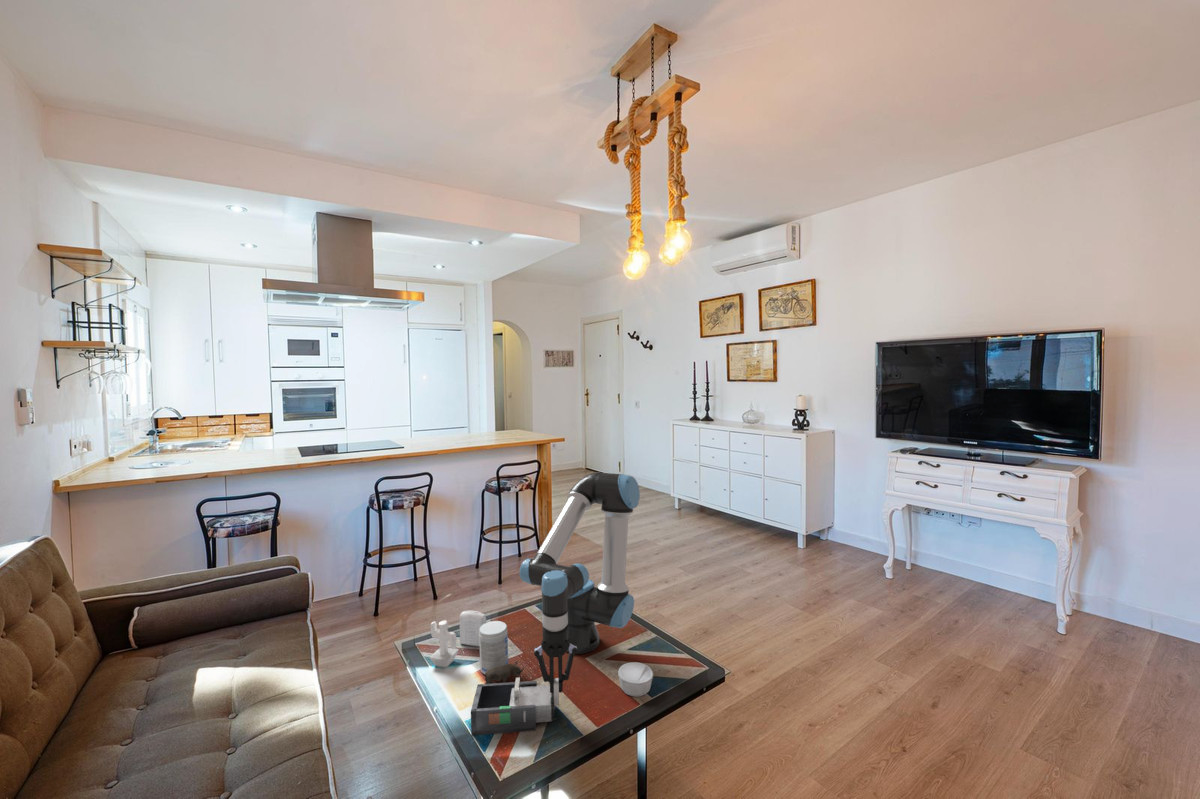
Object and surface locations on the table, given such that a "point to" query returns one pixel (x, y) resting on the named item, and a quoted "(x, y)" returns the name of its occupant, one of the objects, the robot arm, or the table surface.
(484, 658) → the supplement tub
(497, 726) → the gauge housing
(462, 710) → the table surface
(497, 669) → the rhino figurine
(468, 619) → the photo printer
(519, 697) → the plunger
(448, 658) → the figurine
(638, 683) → the ramekin
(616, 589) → the robot arm
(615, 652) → the table surface
